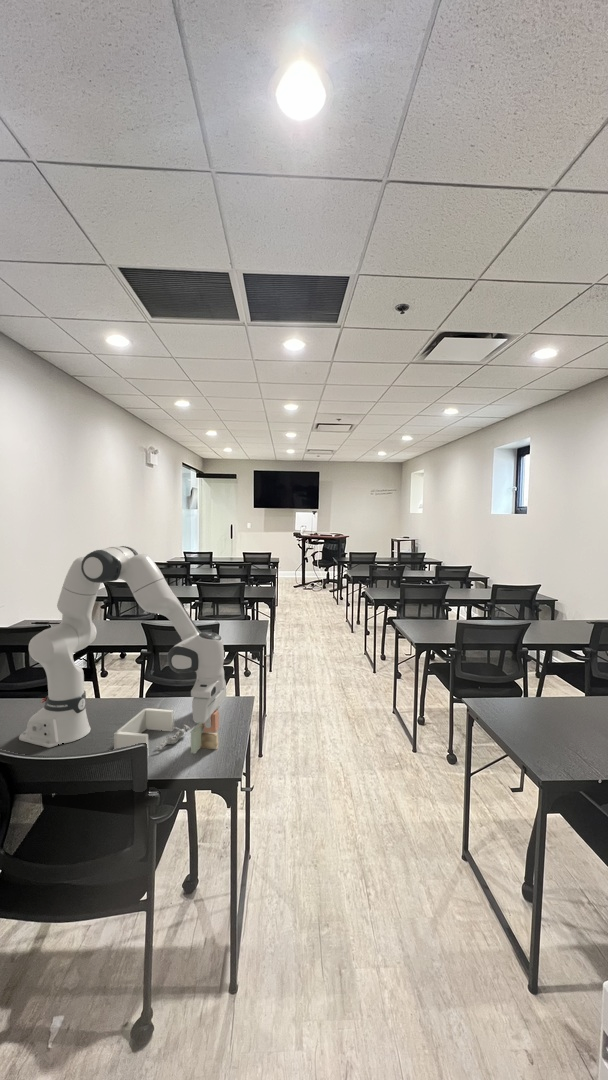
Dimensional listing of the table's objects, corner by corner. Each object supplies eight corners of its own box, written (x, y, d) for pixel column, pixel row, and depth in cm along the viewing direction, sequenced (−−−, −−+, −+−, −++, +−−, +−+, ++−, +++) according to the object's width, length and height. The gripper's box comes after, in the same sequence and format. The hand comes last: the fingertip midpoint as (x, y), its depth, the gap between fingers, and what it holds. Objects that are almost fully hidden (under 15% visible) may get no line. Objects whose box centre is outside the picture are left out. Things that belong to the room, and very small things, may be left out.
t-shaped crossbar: (191, 753, 143) (190, 719, 142) (205, 734, 154) (205, 703, 154) (210, 754, 141) (209, 720, 141) (223, 736, 153) (223, 704, 153)
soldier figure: (152, 750, 148) (175, 724, 158) (162, 760, 148) (185, 734, 158) (160, 740, 144) (184, 714, 154) (171, 751, 144) (194, 724, 154)
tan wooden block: (193, 747, 148) (193, 733, 148) (195, 744, 150) (195, 731, 149) (216, 749, 147) (216, 735, 146) (218, 746, 148) (218, 733, 148)
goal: (114, 754, 143) (113, 733, 143) (145, 726, 162) (145, 708, 162) (146, 758, 142) (145, 736, 141) (173, 729, 160) (173, 710, 160)
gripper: (213, 670, 157) (213, 709, 158) (188, 693, 137) (189, 737, 138) (230, 671, 156) (231, 710, 157) (207, 695, 136) (208, 739, 137)
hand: (211, 723), depth 147 cm, fingers closed on t-shaped crossbar, 3 cm apart
